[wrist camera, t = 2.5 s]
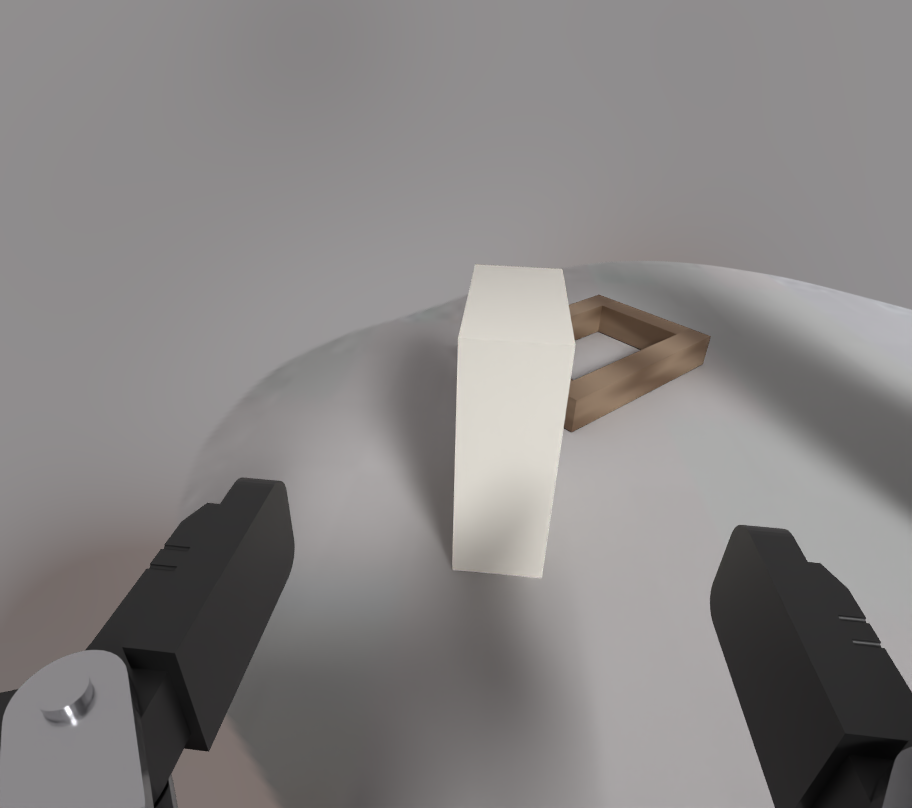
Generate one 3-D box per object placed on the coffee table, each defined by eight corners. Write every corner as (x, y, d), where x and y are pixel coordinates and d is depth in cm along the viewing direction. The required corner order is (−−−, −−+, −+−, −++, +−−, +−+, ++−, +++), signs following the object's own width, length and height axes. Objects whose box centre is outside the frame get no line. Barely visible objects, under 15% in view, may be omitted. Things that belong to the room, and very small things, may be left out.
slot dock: (595, 319, 44) (599, 294, 43) (703, 364, 38) (710, 336, 37) (464, 368, 37) (464, 339, 36) (571, 432, 31) (576, 400, 30)
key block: (538, 467, 28) (562, 269, 23) (541, 578, 22) (575, 345, 17) (467, 461, 29) (475, 264, 23) (452, 569, 23) (458, 337, 17)
